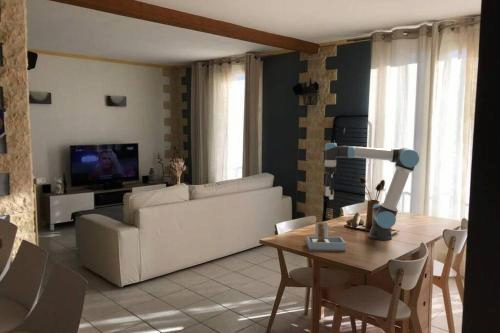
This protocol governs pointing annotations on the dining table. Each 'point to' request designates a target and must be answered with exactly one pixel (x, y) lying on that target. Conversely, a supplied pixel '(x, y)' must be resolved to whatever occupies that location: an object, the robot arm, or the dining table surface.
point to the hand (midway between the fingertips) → (329, 197)
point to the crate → (326, 244)
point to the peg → (321, 232)
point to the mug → (325, 229)
